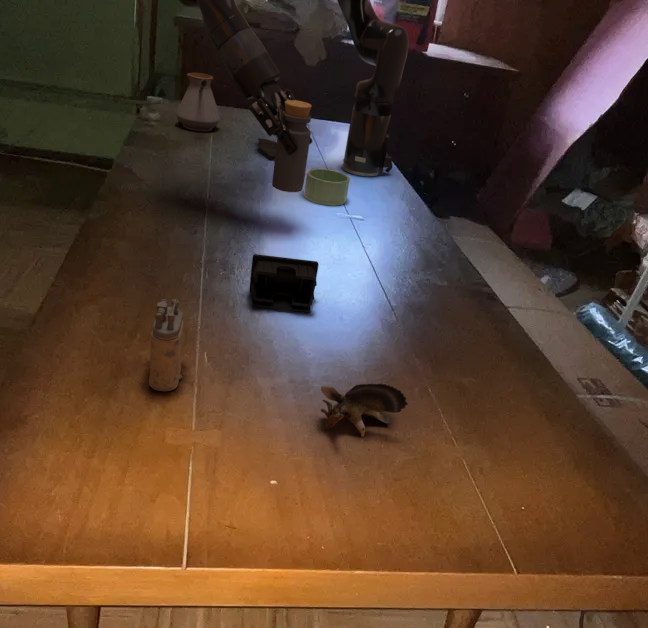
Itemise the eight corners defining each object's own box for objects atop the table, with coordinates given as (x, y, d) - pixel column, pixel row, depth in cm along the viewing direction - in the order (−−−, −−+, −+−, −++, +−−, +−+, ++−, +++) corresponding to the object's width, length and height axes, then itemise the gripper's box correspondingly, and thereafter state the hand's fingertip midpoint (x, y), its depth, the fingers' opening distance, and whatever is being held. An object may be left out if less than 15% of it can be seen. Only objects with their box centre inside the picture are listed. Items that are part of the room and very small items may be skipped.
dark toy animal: (351, 449, 82) (415, 422, 86) (333, 389, 81) (399, 364, 84) (322, 444, 89) (382, 419, 92) (305, 388, 88) (367, 365, 91)
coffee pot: (174, 119, 196) (177, 59, 188) (217, 123, 199) (222, 64, 191) (177, 141, 179) (180, 76, 171) (224, 146, 182) (229, 82, 174)
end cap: (311, 294, 117) (317, 255, 114) (313, 314, 111) (320, 274, 108) (249, 287, 116) (253, 247, 112) (248, 307, 110) (252, 266, 106)
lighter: (155, 360, 94) (158, 290, 88) (185, 363, 94) (189, 293, 89) (146, 390, 88) (149, 317, 82) (178, 394, 88) (182, 321, 83)
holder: (335, 191, 164) (339, 169, 162) (352, 206, 157) (356, 183, 155) (297, 190, 161) (301, 167, 158) (313, 205, 154) (316, 182, 151)
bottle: (271, 180, 138) (281, 97, 130) (301, 184, 139) (313, 101, 131) (272, 190, 133) (282, 105, 125) (303, 194, 134) (316, 109, 126)
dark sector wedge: (280, 145, 190) (281, 138, 189) (299, 161, 180) (300, 154, 179) (250, 143, 187) (250, 137, 186) (268, 160, 177) (268, 153, 176)
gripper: (246, 54, 120) (302, 145, 124) (280, 47, 132) (331, 130, 135) (215, 81, 124) (270, 168, 128) (251, 72, 136) (301, 152, 139)
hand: (301, 148), depth 132 cm, fingers closed on bottle, 6 cm apart
